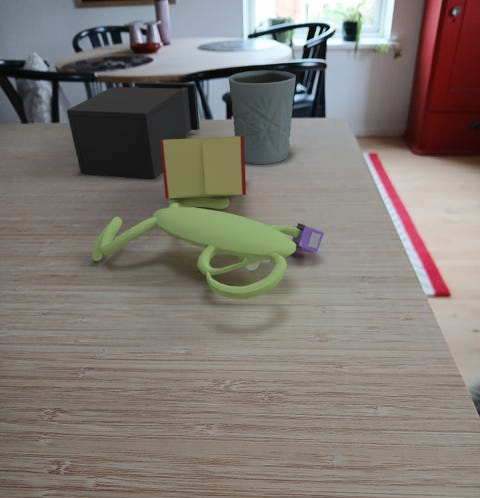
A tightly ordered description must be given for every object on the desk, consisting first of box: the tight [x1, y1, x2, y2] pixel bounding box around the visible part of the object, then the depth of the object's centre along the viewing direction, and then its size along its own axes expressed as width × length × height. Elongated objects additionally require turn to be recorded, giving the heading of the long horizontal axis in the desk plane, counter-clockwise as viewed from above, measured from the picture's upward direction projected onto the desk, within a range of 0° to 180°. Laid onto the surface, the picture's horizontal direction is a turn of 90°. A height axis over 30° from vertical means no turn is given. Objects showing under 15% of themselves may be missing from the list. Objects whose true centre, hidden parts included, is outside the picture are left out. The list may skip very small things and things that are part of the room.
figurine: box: [91, 196, 325, 300], centre depth 56 cm, size 18×27×6 cm
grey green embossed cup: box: [228, 69, 297, 165], centre depth 81 cm, size 10×10×12 cm
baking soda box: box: [160, 135, 247, 199], centre depth 67 cm, size 10×6×16 cm
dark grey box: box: [66, 86, 188, 180], centre depth 82 cm, size 15×13×10 cm
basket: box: [132, 81, 200, 136], centre depth 91 cm, size 18×11×8 cm, turn 165°
